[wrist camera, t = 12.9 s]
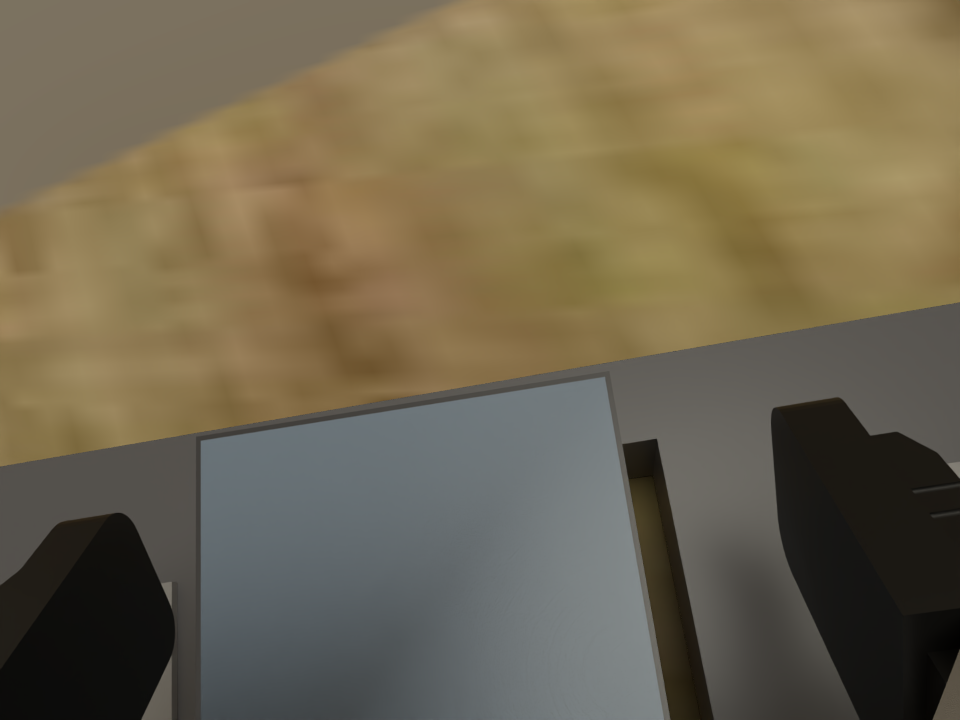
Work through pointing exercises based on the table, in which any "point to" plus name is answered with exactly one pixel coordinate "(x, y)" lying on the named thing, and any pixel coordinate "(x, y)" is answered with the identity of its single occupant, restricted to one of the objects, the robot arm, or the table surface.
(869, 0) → the table surface
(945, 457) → the power strip
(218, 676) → the plug
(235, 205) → the table surface
